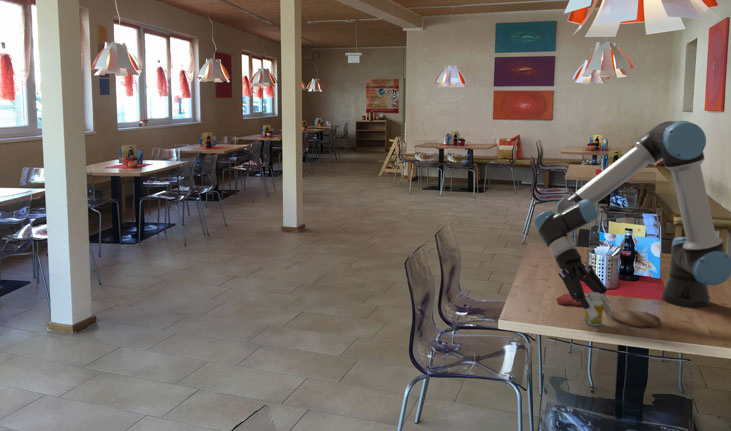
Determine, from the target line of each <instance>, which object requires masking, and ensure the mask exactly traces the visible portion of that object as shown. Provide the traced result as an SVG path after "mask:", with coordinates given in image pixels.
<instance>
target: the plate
mask: <svg viewBox="0 0 731 431" xmlns="http://www.w3.org/2000/svg"><path fill="white" fill-rule="evenodd" d="M611 319H612V320H613V321H614V322H616V323H618V324H622V325H625V326H628V327H632V328H633V327H634V328H644V329H645V328H647V329H648V328H656V327H658V326H660V325H661V324H660V323H661V319H660V317H658V316H657V315H655V314H652V313H649V312H646V311H640V310H633V309H621V310H620V309H619V310H614V312H613V313H612V314H611Z"/></svg>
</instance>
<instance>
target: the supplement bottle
mask: <svg viewBox="0 0 731 431" xmlns="http://www.w3.org/2000/svg"><path fill="white" fill-rule="evenodd" d="M587 296H588V298H589V300H590V301H591V303H592V304H593V306H594V308H595V309H596V311H597V313H598V314H599V315H598V316H597V317H596V318H594V319H591V318H590V316H589V314H588V313H587V311H586V309H584V308H583V310H584V311H583V323H584V324H585V325H587V326H594V327H596V326H599V327H600V326H601V325H602V322H603V312H604V310H603V302H602V301H601V300H600V299H601V298H602V294H600V293H599V292H598V293H597V292H593V291H590V292H588V293H587Z"/></svg>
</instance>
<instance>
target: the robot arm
mask: <svg viewBox="0 0 731 431" xmlns="http://www.w3.org/2000/svg"><path fill="white" fill-rule="evenodd" d="M706 137H707V136H706V134H705V132H704V130H703V129H702V128H701V127H700V126H699V125H698V124H696V123H694V122H690V121H687V120H679V121H672V120H669V121H664V122H661V123H659V124H657V125H656V126H654V127H653V128H652V129H651V130H649V131H648V132H647V133H645V134H644V135H643V136H642V137H640V138H639V139H638V140H636V141H635V142H634V147H632V148H631V149H629V151H627V152H626V153H624V154H623V155H622V156H621V157H619V158H618V159H617V160H615V161H614V162H612V163H611V164H610V165H608V166H607V167H606V168H605V169H604V170H603V171H601V172H600V173H598V174H597V175H596V176H594V177H593V178H592V179H590V180H589V181H588V182H587V183H585V184H584V185H582V186H581V187H580V188H579V189H578V190H576V191H575V192H574V193H572V194H571V195H569V196H568V197H565V198H561V199H560V200H559V201H558V202H557V204H556V212H557V213H555V212H554V211H552V210H546V211H543V212H541V213H539V214H538V215H537V216H536V217H534V221H533V224H534V226H535V228H536V230H537V232H538V234H539V235H540V238H541V239H542V240H543V243H544V244H545V245H546V247H547V248H548V250H549V251H550V253H551V255H552V256H553V258H554V259H555V262H556V263H557V265H558V267H559V269H561V271H560V272H558V276H559V278H560V279H561V280H562V282H563V283H564V286H565V288H566V289H567V291H568V294H570V295H571V297H572V299H573V300H575V299H577V300H576V302H579V301H580V302H581V304H582V306H583V307H582V308H583V310H584V309H586V311H587V313H588V314H589V316H590V318H591V319H594V318H596V317H597V316H598V315H599V314H598V313H597V311H596V309H595V308H594V306H593V304H592V303H591V301H590V300H589V298H588V297H585V296H586V295H585V292H584V288H583V286H582V283H583V284H585V285H586V286H587V288H589V289H590V290H591V292H597V293H600V294H602V298H601V299H600V300H601V301H602V302H603V312H604V313H605V315H606V316H607V317H609V316H612V313H613V312H615V310H614V308H613V307H612V305H611V304H610V301H609V300H608V297H607V296H606V292H607V291H608V289H607V287H606V286H605V284H604V282H602V280H601V279H600V277H599V276H598V275H597V273H596V271H595V270H594V267H593V266H592V265H591V264H589V265H587V266H585V265H584V264H583V263H584V262H583V263H582V255H581V254H580V253H579V251H578V250H577V248H576V246H575V245H574V242H573V241H572V240H571V238H570V237H569V235H568V234H570V233H572V232H573V231H576V230H578V229H579V228H581V227H583V226H585V225H587V224H591V222H593V221H595V220H596V219H597V218H598V217H599V213H598V210H597V208H596V207H595V205H596V204H598V203H599V202H600V201H601V200H603V199H604V198H606V197H607V196H608V195H609V194H611V193H612V192H613V191H615V190H617V189H618V188H619V187H621V185H623V184H624V183H625V182H626V181H628V180H630V179H631V178H632V177H633V176H635V175H637V173H639V172H640V171H642V170H643V169H645V167H647V166H648V165H654V164H656V163H657V162H659V161H660V160H663V164H664V168H666V169H667V170H669V171H670V172H671V177H672V182H673V186H674V191H675V194H676V195H675V196H676V200H677V204H678V208H679V209H678V210H679V212H680V217H681V222H682V226H683V230H684V235H685V236H678V237H677V236H676V237H674V238H673V239H672V243H671V247H670V248H671V251H670V252H671V253H670V266H669V275H668V276H669V278H668V280H667V283H666V285H665V288H664V289H663V290H662V292H661V293H662V294H661V299H662V300H663V301H664V302H666V303H668V304H672V305H676V306H679V307H689V308H705V307H704V306H706V307H708V305H709V304H711V297H710V294H709V288H708V286H719V285H720V284H723V283H725V282H726V281H727V280H728V279H729V278H730V277H731V257H730V255H728V254H727V253H726V250H725V247H724V242H723V239H722V238H720V237H719V236H717V235H716V230H715V226H714V222H713V218H712V212H711V207H710V203H709V199H708V193H707V190H706V185H705V181H704V176H703V171H702V166H701V164H703V162H704V160H705V155H704V150H705V148H706V144H707V138H706ZM709 306H710V305H709Z"/></svg>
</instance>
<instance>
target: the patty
mask: <svg viewBox="0 0 731 431" xmlns="http://www.w3.org/2000/svg"><path fill="white" fill-rule="evenodd" d="M585 297H588V295H585ZM576 300H577V299H575V300H573V299H572V297H571V295H570V293H564V294H562V295H560V296H558V297H557V298H556V302H557V304H558V305H559V306H563V307H573V308H584V307H583V306H582V304H581V302H580V301H579V302H576Z"/></svg>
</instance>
